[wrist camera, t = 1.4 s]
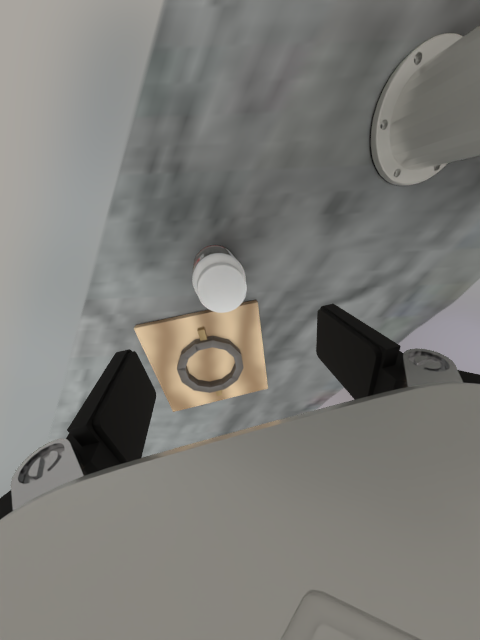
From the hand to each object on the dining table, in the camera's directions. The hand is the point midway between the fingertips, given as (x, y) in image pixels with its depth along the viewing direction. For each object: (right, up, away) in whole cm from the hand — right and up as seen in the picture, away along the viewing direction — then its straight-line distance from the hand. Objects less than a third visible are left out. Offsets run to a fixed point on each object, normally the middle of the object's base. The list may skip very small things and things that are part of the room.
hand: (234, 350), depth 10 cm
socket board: (-5, -5, +24) cm, 25 cm away
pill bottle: (-3, +9, +17) cm, 20 cm away
